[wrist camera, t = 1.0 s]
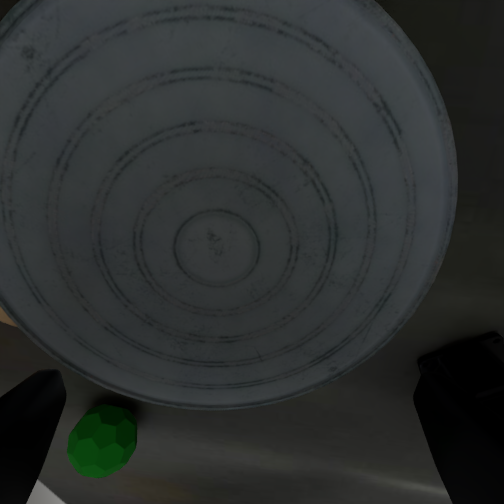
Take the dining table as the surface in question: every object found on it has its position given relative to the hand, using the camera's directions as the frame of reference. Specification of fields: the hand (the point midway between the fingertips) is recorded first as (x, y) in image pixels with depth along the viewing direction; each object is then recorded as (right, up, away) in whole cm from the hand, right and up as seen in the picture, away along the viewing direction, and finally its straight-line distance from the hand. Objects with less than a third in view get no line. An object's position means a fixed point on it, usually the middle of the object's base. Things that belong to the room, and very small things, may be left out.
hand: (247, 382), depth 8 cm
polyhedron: (-12, -10, +20) cm, 25 cm away
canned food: (-1, +9, +10) cm, 14 cm away
